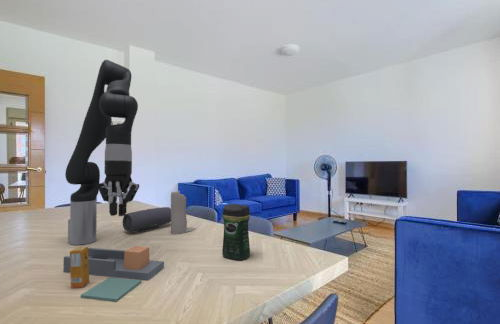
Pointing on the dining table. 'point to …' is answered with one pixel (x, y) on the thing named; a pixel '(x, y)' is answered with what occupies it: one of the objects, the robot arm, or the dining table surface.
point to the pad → (111, 289)
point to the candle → (179, 214)
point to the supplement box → (79, 267)
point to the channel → (115, 265)
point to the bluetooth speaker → (146, 219)
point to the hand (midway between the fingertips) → (117, 215)
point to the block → (136, 257)
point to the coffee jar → (236, 231)
